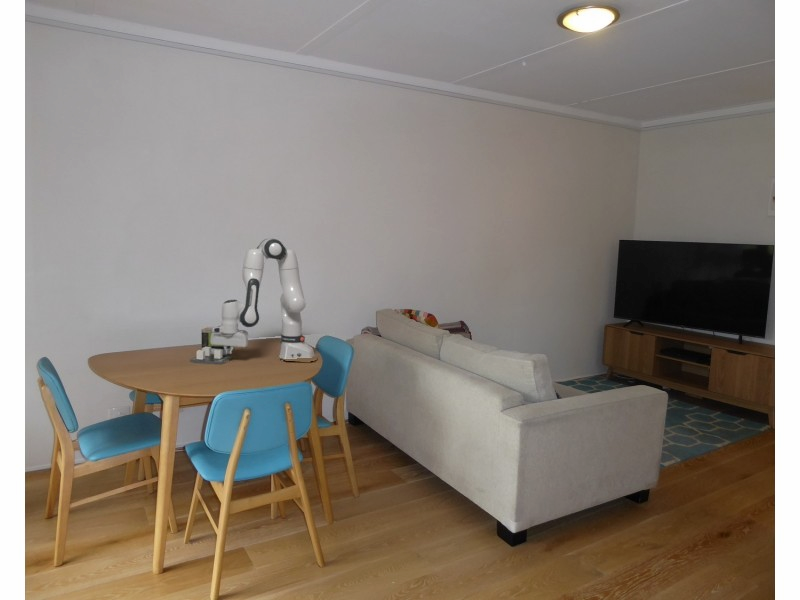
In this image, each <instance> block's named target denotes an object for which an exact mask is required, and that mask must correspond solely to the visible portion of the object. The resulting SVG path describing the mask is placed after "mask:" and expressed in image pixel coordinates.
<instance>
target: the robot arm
mask: <svg viewBox="0 0 800 600" xmlns="http://www.w3.org/2000/svg"><path fill="white" fill-rule="evenodd" d="M268 259H273V260H276V261H277V265H278V267H277V268H278V273H279V282H280V286H281V288H282V289H281V290H282V294H281V295H280V300H279V301H280V312H281V319H282V320H281V322H282V323H281V325H282V326H281V335H280V352H279V356H278V358H279V357H280V358H283V359H297V358H312V357H313V356H315V350H314V348H313V347H312V346H311V345H310V344H308V343H307V342H306V341H305V340H306V339H305V337H306V336H305V335H303V334H302V329H303V327H302V325H303V322H302V316H301V312H303V311H304V309H305V308H306V304H307V303H306V299H305V295H304V291H303V288H302V284H301V279H300V269H299V264H298V258H297V255H296V252H295V251H294V250H293V249H292V248H291V249H290V248H286V247H285V245H284V244H283V242H282V241H280V240H278V239H275V238H273V237H272V238H265V239H263V240H262V241H261V242H259V245H258V246H257V247H255V248H254V247H253V248H250V249H248V250H247V252H246V254H245V257H244V260H243V266H242V280H243V283H244V286H245V290H246V294H245V303H242V302H240V301H238V300H237V299H228V300H226V301H224V302H223V304H222V308H221V319H222V320H221V325H218V326H214V327H215V328H213V329H212V331H213V333H212V334H211V339H210V343H211V344H212V345H223V346H224V349H225V350H226V354H227V355H231V354H233V350H234V349H235V347H236V348H237V347H238V348H246V347H247V346H248V345H249V341H248V340H249V339H248V338H249V333H248V331H247V330H245V329H244V330H243V329H239V323H241V325H242V326H243V327H246V328H252V327H254V326H256V325H257V324H258V323H259V321H260V314H259V310H258V302H259V292H260V288H261V287H260V286H261V282H262V278H263V274H264V269H265V263H266V262H267V260H268ZM228 346H231V347H230V348H231V350H228V349H227V347H228Z"/></svg>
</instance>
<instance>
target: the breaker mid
mask: <svg viewBox="0 0 800 600" xmlns="http://www.w3.org/2000/svg"><path fill="white" fill-rule="evenodd" d="M222 351H223V350H221V349H216V350H214V354H213V355H214V358H217V359H221V358H222V356H223V355H222Z"/></svg>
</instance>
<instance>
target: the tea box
mask: <svg viewBox="0 0 800 600" xmlns="http://www.w3.org/2000/svg"><path fill="white" fill-rule="evenodd" d="M215 327H216V326H207V327H204V328H202V329H201V343H200V344H201V347H200V348H201V350H203V348H204V347H211V355H214V350H216V349H221V350H223V351H222V356H228V354H226V350H225V349H224V346H223V345H212V344H211V343H210V339H211V334H212V333H213V331H212V329H213V328H215ZM230 347H231V346H228V347H227V349H228V350H231V348H230Z"/></svg>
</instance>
